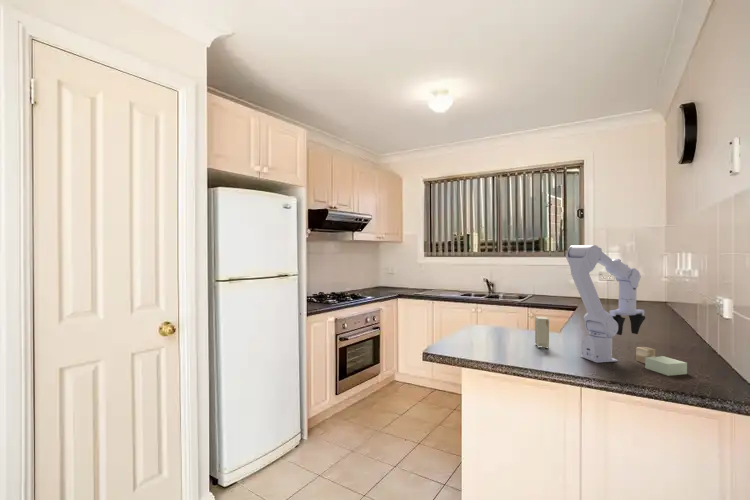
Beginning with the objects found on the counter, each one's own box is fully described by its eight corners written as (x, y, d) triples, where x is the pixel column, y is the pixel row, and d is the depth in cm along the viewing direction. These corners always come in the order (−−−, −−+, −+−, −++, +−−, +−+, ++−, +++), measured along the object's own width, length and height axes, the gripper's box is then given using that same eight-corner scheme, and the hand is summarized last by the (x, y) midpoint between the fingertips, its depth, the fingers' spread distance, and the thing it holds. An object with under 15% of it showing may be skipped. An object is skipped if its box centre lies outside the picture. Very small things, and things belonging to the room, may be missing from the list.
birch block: (646, 363, 138) (646, 350, 138) (636, 360, 142) (636, 347, 142) (654, 363, 139) (655, 349, 139) (644, 360, 143) (645, 346, 143)
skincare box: (549, 349, 156) (549, 319, 156) (537, 348, 157) (538, 318, 157) (545, 345, 163) (546, 316, 162) (534, 344, 163) (535, 316, 163)
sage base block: (667, 376, 125) (668, 364, 125) (645, 368, 133) (645, 357, 133) (686, 374, 127) (687, 362, 127) (663, 367, 135) (663, 356, 135)
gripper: (633, 297, 154) (632, 331, 154) (603, 297, 150) (602, 332, 150) (649, 299, 147) (649, 335, 147) (618, 300, 143) (618, 336, 143)
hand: (626, 334), depth 148 cm, fingers open, 7 cm apart
